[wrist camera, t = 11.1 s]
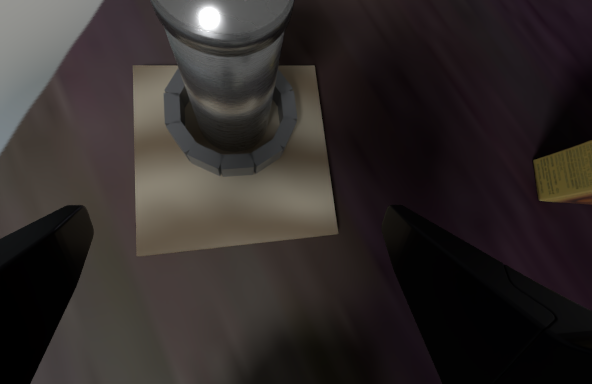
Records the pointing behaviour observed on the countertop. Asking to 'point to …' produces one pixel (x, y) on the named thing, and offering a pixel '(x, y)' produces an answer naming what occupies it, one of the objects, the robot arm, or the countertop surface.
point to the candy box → (565, 175)
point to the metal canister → (227, 62)
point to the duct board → (233, 189)
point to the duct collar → (231, 163)
